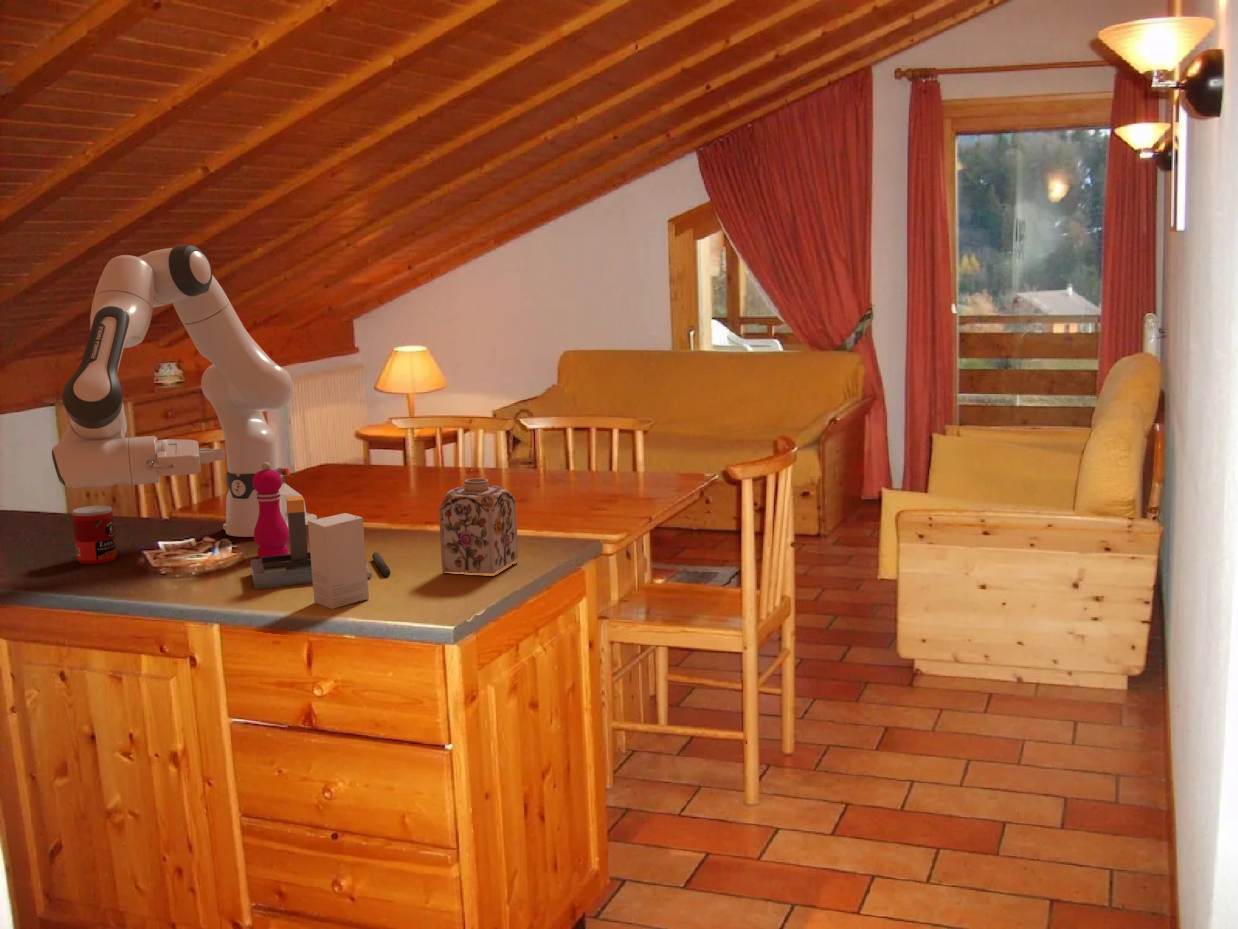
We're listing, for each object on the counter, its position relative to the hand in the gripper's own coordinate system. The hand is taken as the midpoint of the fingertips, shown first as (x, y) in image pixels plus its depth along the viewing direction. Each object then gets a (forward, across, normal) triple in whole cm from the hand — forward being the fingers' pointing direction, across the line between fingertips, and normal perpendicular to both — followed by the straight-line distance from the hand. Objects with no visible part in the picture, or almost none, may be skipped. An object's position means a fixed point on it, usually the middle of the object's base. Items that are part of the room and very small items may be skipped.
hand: (225, 454), depth 240 cm
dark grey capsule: (+26, 0, +25) cm, 36 cm away
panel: (+12, 0, +25) cm, 28 cm away
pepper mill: (+8, +20, +26) cm, 34 cm away
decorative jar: (+46, -9, +26) cm, 54 cm away
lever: (+12, 0, +22) cm, 25 cm away
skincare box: (+18, -21, +26) cm, 38 cm away
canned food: (-27, +33, +26) cm, 50 cm away
